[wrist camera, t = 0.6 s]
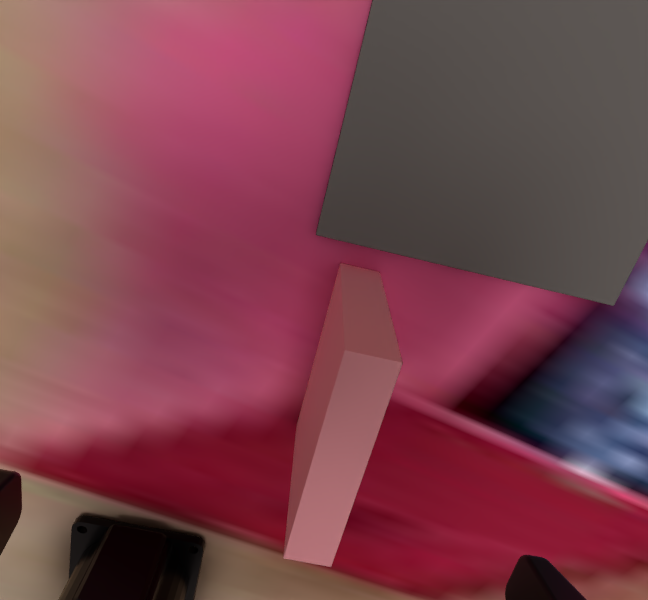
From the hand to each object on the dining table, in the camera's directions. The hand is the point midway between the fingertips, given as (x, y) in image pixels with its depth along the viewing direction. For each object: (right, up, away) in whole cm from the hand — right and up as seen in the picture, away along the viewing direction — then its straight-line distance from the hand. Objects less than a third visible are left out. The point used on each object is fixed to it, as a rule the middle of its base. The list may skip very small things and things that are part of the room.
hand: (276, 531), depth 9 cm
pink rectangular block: (+1, +2, +12) cm, 13 cm away
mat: (+8, +10, +9) cm, 15 cm away
